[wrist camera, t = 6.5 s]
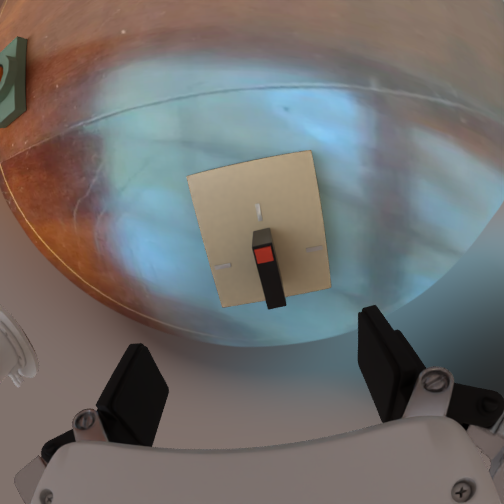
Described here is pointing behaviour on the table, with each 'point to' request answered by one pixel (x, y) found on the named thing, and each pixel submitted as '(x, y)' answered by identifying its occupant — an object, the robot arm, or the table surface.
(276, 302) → the knob
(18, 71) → the block
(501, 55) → the table surface
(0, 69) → the button
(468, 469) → the robot arm
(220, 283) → the panel
